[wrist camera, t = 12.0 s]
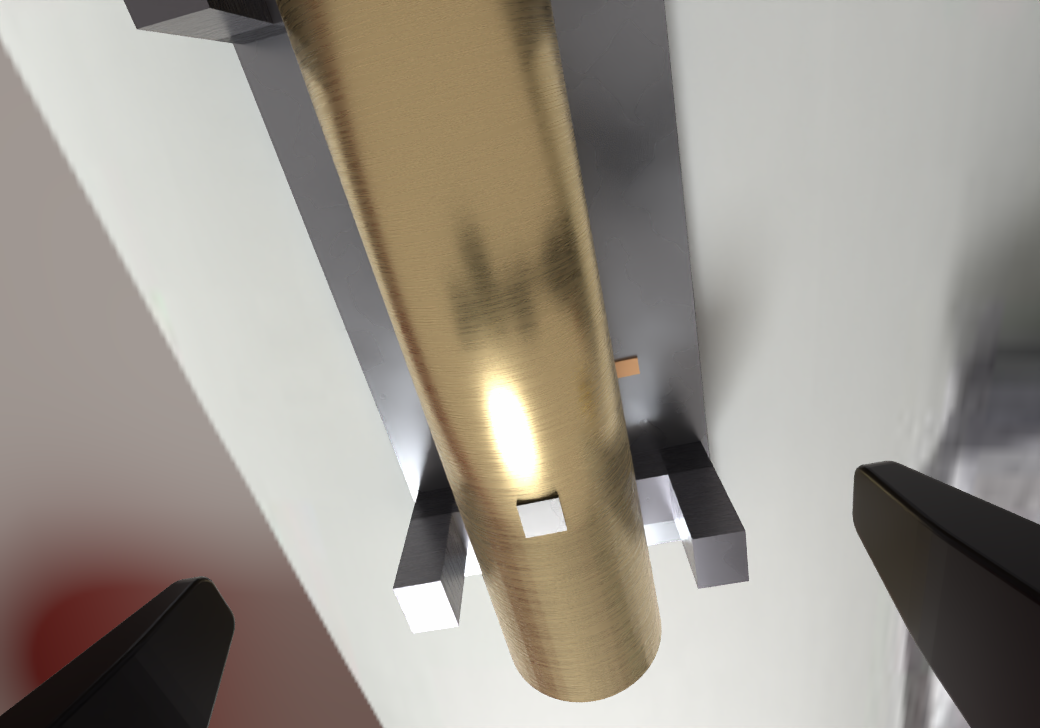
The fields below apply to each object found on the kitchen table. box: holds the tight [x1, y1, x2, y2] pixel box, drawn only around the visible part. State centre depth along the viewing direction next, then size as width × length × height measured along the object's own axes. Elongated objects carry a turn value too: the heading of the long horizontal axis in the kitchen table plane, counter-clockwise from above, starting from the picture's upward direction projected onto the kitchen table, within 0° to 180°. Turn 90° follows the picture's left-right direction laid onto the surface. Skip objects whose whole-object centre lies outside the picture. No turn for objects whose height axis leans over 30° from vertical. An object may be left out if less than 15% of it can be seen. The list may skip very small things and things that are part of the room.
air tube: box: [276, 0, 661, 702], centre depth 14 cm, size 22×5×5 cm, turn 13°
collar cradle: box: [124, 0, 749, 633], centre depth 16 cm, size 24×11×6 cm, turn 13°
